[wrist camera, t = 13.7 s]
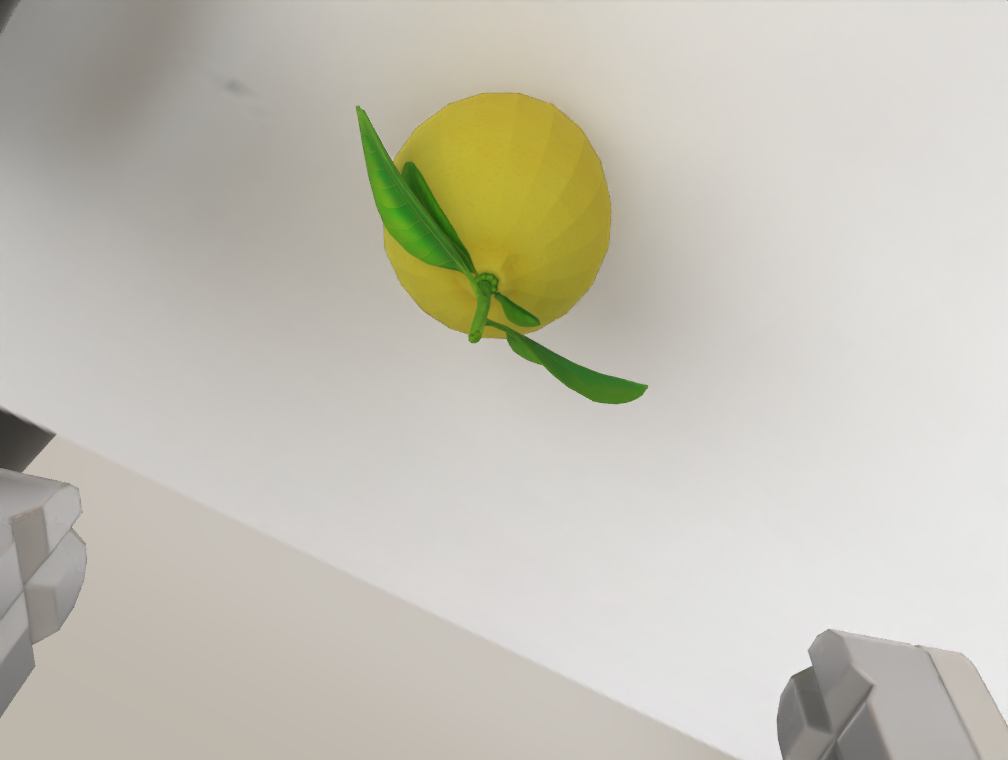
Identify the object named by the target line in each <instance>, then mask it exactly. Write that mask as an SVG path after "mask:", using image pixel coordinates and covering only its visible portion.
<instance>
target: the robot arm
mask: <svg viewBox="0 0 1008 760" xmlns="http://www.w3.org/2000/svg"><path fill="white" fill-rule="evenodd" d="M81 513H82V506H81V499H80V493H79V488H77V487H75V486H73V485H71V484H69V483H66V482H61V481H57V480H52V479H47V478H43V477H38V476H34V475H28V474H24V473H20V472H15V471H11V470H6V469H1V468H0V718H1V716H2V715H3V713H4V712H5V710H6V709H7V707H8V706H9V704H10V703H11V701H12V700H13V698H14V697H15V695H16V694H17V692H18V691H19V689H20V688H21V687H22V685H23V683H24V682H25V681H26V679H27V677H28V676H29V675H30V673H31V671H32V670H33V669H34V667H35V661H34V655H33V648H32V645H33V644H35V643H37V642H39V641H41V640H42V639H44V638H46V637H48V636H50V635H51V634H53V633H55V632H57V631H59V630H60V628H61V626H62V625H63V623H64V622H65V620H66V619H67V617H68V616H69V614H70V612H71V611H72V609H73V608H74V605H75V603H76V600H77V598H78V595H79V592H80V590H81V587H82V584H83V582H84V577H85V570H86V563H87V555H86V543H85V542H84V541H83V540H82V539H81V537H80V536H79V535H78V534H77V533H76V532H75V531H74V530H73V528H72V526H73V524H74V523H75V522H76V520H77V519H78V517H79V516H80V514H81ZM808 652H809V655H810V659H811V662H812V665H813V666H811V667H809V668H807V669H805V670H803V671H801V672H799V673H797V674H795V675H793V676H791V678H790V680H789V682H788V684H787V685H786V687H785V689H784V691H783V693H782V694H781V697H780V703H779V709H778V715H777V731H778V741H779V745H780V750H781V754H782V758H783V760H1008V726H1007V724H1006V722H1005V720H1004V718H1003V717H1002V715H1001V713H1000V711H999V709H998V707H997V705H996V704H995V702H994V700H993V698H992V696H991V694H990V693H989V691H988V689H987V687H986V685H985V683H984V682H983V680H982V678H981V676H980V674H979V672H978V670H977V669H976V667H975V665H974V664H973V663H972V662H971V661H970V660H969V659H968V658H967V657H966V656H965V655H963V654H962V653H959V652H953V651H947V650H942V649H936V648H931V647H925V646H920V645H911V644H909V643H903V642H898V641H892V640H887V639H881V638H876V637H870V636H865V635H859V634H854V633H848V632H843V631H837V630H832V629H828V630H826V631H824V632H823V633H821V634H819V635H818V636H817V637H816V639H815V640H814V642H813V643H812V645H811V646H810V648H809V649H808Z"/></svg>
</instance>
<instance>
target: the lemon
mask: <svg viewBox="0 0 1008 760" xmlns="http://www.w3.org/2000/svg"><path fill="white" fill-rule="evenodd" d="M356 110H357V115H358V120H359V126H360V132H361V138H362V144H363V150H364V155H365V161H366V166H367V171H368V176H369V180H370V184H371V188H372V191H373V195H374V199H375V203H376V206H377V208H378V211H379V213H380V216H381V218H382V221H383V226H384V245H385V251H386V253H387V256H388V258H389V260H390V262H391V264H392V266H393V269H394V271H395V273H396V275H397V277H398V279H399V281H400V283H401V285H402V286H403V288H404V289H405V290H406V291H407V292H408V294H409V295H410V296H411V297H412V298H413V300H414V301H415V302H416V303H417V304H418V306H419V307H420V308H421V309H422V310H423V311H424V312H425V313H427V314H428V315H430V316H432V317H433V318H435V319H436V320H438V321H439V322H441V323H442V324H444V325H445V326H447V327H448V328H450V329H453V330H456V331H459V332H462V333H466V334H469V341H470V342H471V343H477V342H479V340H480V339H481V338H502V339H507V341H508V343H509V345H510V346H511V348H512V349H513V351H514V352H515V353H517V354H518V355H520V356H521V357H523V358H525V359H527V360H529V361H531V362H534V363H537V364H540V365H543V366H544V367H545V368H546V369H547V370H548V371H549V372H550V373H551V374H553V375H554V376H555V377H556V378H557V379H558V380H560V381H561V382H562V383H564V384H565V385H566V386H567V387H569V388H570V389H572V390H574V391H576V392H578V393H579V394H581V395H583V396H585V397H586V398H588V399H590V400H592V401H594V402H599V403H608V404H621V403H627V402H630V401H633V400H635V399H637V398H639V397H640V396H642V395H643V393H644V392H645V390H646V389H647V388H648V385H644V384H639V383H635V382H632V381H628V380H625V379H621V378H617V377H613V376H608V375H604V374H601V373H598V372H595V371H593V370H590V369H588V368H585V367H583V366H580V365H578V364H575V363H573V362H571V361H569V360H567V359H566V358H564V357H562V356H560V355H558V354H556V353H554V352H552V351H551V350H549V349H547V348H545V347H544V346H542V345H540V344H538V343H537V342H535V341H533V340H531V339H529V338H528V337H526V336H524V335H523V334H527V333H531V332H534V331H537V330H539V329H541V328H542V327H544V326H546V325H548V324H549V323H551V322H553V321H555V320H556V319H558V318H560V317H561V316H563V315H565V314H567V313H568V311H569V310H570V309H571V308H572V307H573V306H574V305H575V304H576V303H577V302H578V301H579V299H580V298H581V297H582V296H583V295H584V294H585V293H586V292H587V291H588V289H589V288H590V287H591V286H592V284H593V282H594V280H595V278H596V275H597V273H598V271H599V268H600V266H601V264H602V261H603V259H604V257H605V254H606V252H607V250H608V247H609V241H610V225H611V202H610V196H609V192H608V188H607V184H606V180H605V176H604V172H603V168H602V164H601V161H600V159H599V158H598V156H597V154H596V153H595V151H594V149H593V147H592V146H591V144H590V142H589V140H588V139H587V137H586V135H585V134H584V132H583V130H582V129H581V128H580V127H579V126H578V125H577V124H576V123H574V122H573V121H572V120H571V119H570V118H568V117H567V116H566V115H565V114H563V113H562V112H561V111H560V110H559V109H557V108H556V107H555V106H554V105H552V104H549V103H546V102H544V101H541V100H538V99H535V98H532V97H529V96H526V95H523V94H520V93H482V94H479V95H475V96H472V97H469V98H466V99H463V100H459V101H456V102H453V103H450V104H448V105H447V106H445V107H444V108H443V109H441V110H440V111H439V112H437V113H436V114H435V115H433V116H432V117H431V118H429V119H428V120H426V121H425V122H424V123H422V124H421V125H420V126H418V127H417V128H416V129H415V130H414V132H413V133H412V135H411V136H410V137H409V139H408V140H407V142H406V143H405V145H404V146H403V147H402V149H401V150H400V152H399V153H398V154H397V156H396V157H395V160H394V162H393V161H392V160H391V158H390V157H389V155H388V153H387V151H386V150H385V148H384V146H383V144H382V142H381V140H380V139H379V137H378V135H377V133H376V131H375V129H374V128H373V126H372V124H371V122H370V120H369V118H368V116H367V114H366V112H365V111H364V110H363V109H361V108H360V106H356Z"/></svg>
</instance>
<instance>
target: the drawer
mask: <svg viewBox="0 0 1008 760" xmlns="http://www.w3.org/2000/svg"><path fill="white" fill-rule="evenodd" d="M19 2H20V0H0V35H1V34H2V32H3V30H4V28H5V27H6V25H7V23H8V21H9V19H10V18H11V16H12V14H13V12H14V10H15V9H16V7H17V5H18V3H19Z"/></svg>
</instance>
